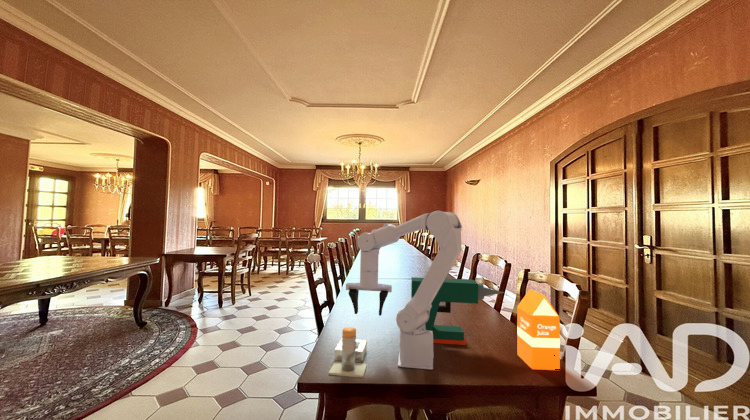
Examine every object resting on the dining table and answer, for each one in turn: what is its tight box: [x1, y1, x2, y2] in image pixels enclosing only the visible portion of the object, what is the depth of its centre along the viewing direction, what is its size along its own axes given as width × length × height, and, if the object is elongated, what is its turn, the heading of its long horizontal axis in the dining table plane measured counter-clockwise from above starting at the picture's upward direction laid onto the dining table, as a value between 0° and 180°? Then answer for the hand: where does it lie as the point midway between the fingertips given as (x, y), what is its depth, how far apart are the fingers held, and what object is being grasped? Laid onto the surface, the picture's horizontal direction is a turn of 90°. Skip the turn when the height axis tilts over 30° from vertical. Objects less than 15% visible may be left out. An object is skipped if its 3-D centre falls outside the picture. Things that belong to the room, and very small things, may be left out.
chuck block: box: [334, 338, 368, 364], centre depth 84 cm, size 8×8×3 cm
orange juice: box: [516, 288, 561, 371], centre depth 83 cm, size 8×9×20 cm
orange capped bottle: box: [341, 327, 357, 372], centre depth 76 cm, size 4×4×10 cm
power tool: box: [410, 276, 506, 346], centre depth 98 cm, size 32×7×20 cm, turn 84°
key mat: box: [328, 360, 368, 378], centre depth 76 cm, size 9×6×1 cm, turn 83°
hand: (368, 313), depth 90 cm, fingers open, 7 cm apart
